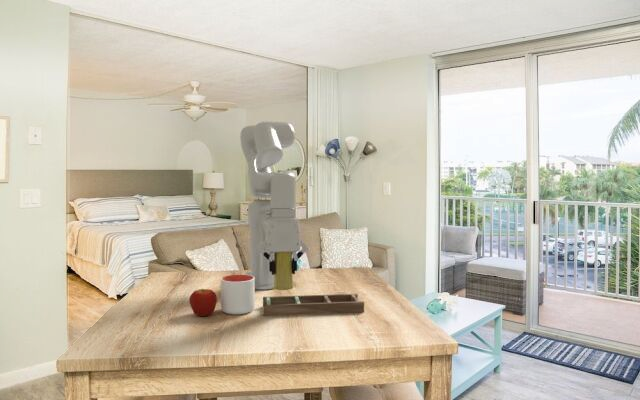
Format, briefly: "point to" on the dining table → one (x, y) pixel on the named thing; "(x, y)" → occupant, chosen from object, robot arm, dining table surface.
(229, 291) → the cup
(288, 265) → the vase
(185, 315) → the dining table surface
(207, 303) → the apple
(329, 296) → the wooden compartment tray
